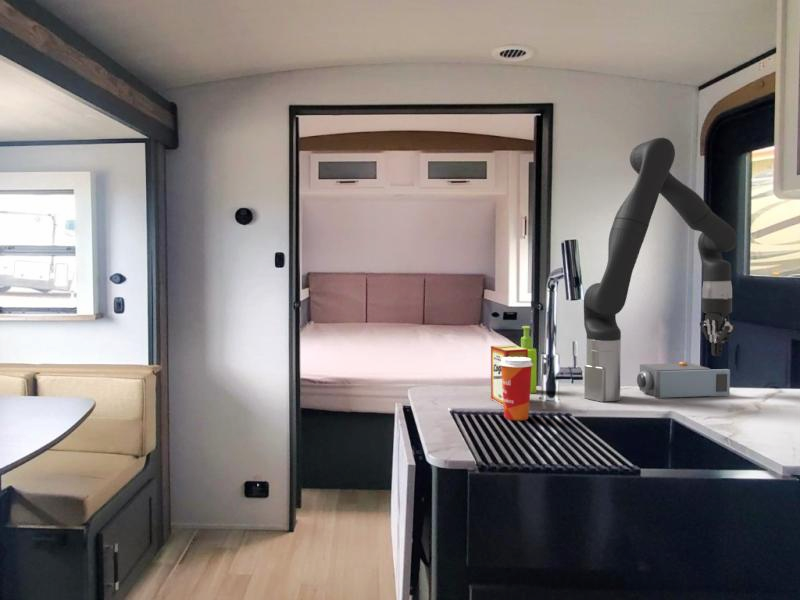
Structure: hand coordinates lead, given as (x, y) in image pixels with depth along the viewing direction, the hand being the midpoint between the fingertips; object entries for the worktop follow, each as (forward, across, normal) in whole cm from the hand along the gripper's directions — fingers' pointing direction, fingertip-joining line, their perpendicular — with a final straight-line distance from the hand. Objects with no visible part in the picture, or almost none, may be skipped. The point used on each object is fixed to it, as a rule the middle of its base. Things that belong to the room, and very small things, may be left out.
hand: (716, 355), depth 160 cm
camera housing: (+11, -3, -12) cm, 17 cm away
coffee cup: (+11, +17, -66) cm, 69 cm away
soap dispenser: (+11, -12, -54) cm, 56 cm away
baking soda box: (+11, +1, -63) cm, 64 cm away
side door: (+11, +3, -9) cm, 15 cm away
